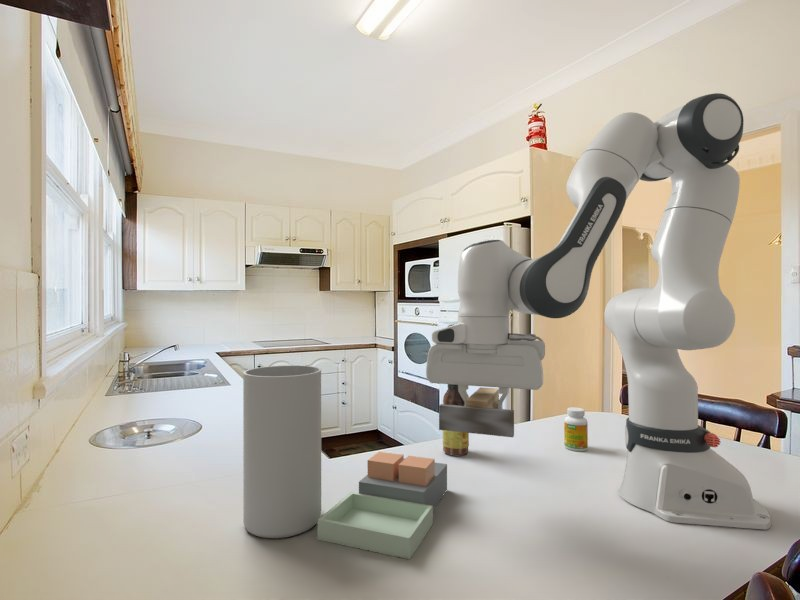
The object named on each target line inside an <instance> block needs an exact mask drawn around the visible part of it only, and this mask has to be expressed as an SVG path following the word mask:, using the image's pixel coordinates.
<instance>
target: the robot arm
mask: <svg viewBox="0 0 800 600" xmlns="http://www.w3.org/2000/svg"><path fill="white" fill-rule="evenodd" d="M743 114H744V113H743V111H742V108H741V107H740V105H739V104H738V103H737V102H736V100H735V99H734V98H732V97H731V96H729V95H727V94H725V93H719V92H718V93H717V92H716V93H709V94H705V95H701V96H697V97H696V98H694V99H691V100H690V101H688V102H686V104H685V105H682V106H680V107H678V108H675V109H673V110H672V111H670V112H669V113H667V114H665V115H663V116H662V117H661V118H660V119H658V120H656V121H655V122H654V121H652V120H651V119H650V118H649V117H648V116H646V115H644V114H641V113H639V112H634V111H633V112H622V113H621V114H618V115H616V116H614V117H613V118H612V119H610V121H608V122H607V123H606V124H605V125H604V126H603V128H602V129H601V130H600V131H598V133H597V134H596V135H595V136H594V138H593V139H592V140H591V141H590V142H589V144H588V145H587V147H586V148H585V149H584V151H583V152H582V154H581V155H580V156H579V158H578V160H577V161H576V163H575V164H574V166H573V168H572V170H571V172H570V174H569V175H568V176H569V177H568V179H567V182H566V183H565V184H566V185H565V190H566V194H567V197H568V200H570V203H571V204H572V205H573V206H574V207H575V208H577V209H576V212H575V214H574V215H573V217H572V219H571V221H570V222H569V224H568V225H567V228H566V229H565V231H564V232H563V234H562V236H561V237H560V240H559V241H558V243H557V244H556V245H555V246H554V248H553V249H551V250H550V251H549V252H547V253H546V254H544V255H542V256H539V257H538V258H532V257H530V256H526V255H523V254H522V253H519V252H518V251H516V250H514V249H513V248H511V247H510V246H508V244H506V243H505V241H503V240H501V239H490V240H484V241H480V242H479V241H478V242H476V243H472V244H470V245H468V246H466V247H465V248H464V249H463V250H462V251H461V253H460V256H459V257H460V258H459V262H458V272H457V275H458V276H457V293H458V298H459V308H458V312H457V323H455V324H449V325H447V326H445V327H442V328H438V329H435V330H434V331H433V332H431V340H432V342H433V343H434V344H432V345H431V346H430V348H429V350H428V353H427V358H426V368H425V369H426V370H425V371H426V373H425V374H426V375H425V376H426V379H427V381H428V382H429V383H430V384H440V385H441V384H443V385H448V384H453V385H458V392H459V393H460V395H461V397H462V399H463V400H464V406H466V400H467V399H468V398H469V397H470V395H469V394H468V390H469V386H472V387H483V388H498V389H499V395H501V396H500V397H499V401H494V402H493V408H494V409H504V408H503V404H504V401H505V400H506V398H507V396H508V394H509V393H510V389H514V390H515V389H516V390H533V391H538V390H540V388H541V387H543V385H544V370H543V369H544V368H543V362H542V361H543V359H544V358H545V355H546V345H545V344H546V343H545V342H544V340H543V339H542V338H541V337H540V336H536V334H535V333H527V334H525V333H524V334H523V333H510V329H509V328H510V318H509V317H510V314H509V313H510V312H511V310H513V311H516V312H518V313H521V314H528V315H536V316H537V315H538V316H541V317H545V318H550V319H563V318H566V317H568V316H570V315H572V314H575V312H576V311H578V310H579V309H580V308H581V306H583V304H584V302H585V301H586V299H587V298H586V297H587V296H588V293H589V289H590V288H589V287H590V283H591V278H592V273H593V269H594V267H595V264H596V263H597V260H598V258H599V256H600V254H601V252H602V250H603V248H604V247H605V245H606V243H607V241H608V239H609V238H610V235H611V234H612V233H613V230H614V228H615V226H616V224H617V222H618V221H619V219H620V217H621V215H622V212H623V210H624V208H625V205H626V202H627V200H628V199H629V196H630V195H631V193H632V191H633V190H634V189H635V187H636V186H637V184H638V183H639V180H641V181H643V182H658V181H663V180H666V179H668V178H670V181H671V191H670V197H669V198H668V201H667V203H666V205H665V209H664V211H663V214H662V217H661V219H660V223H659V225H658V228H657V231H656V234H655V236H654V239H653V242H652V244H651V247H650V248H651V249H650V253H651V254H650V255H651V256H652V258H653V260H654V261H655V263H657V265H658V277H657V282H656V284H655V285H654V286H653V287H640V288H638V287H637V288H631V289H629V290H626V291H623V292H621V293H618V294H616V295H614V296H613V297H611V299H610V300H609V301H608V302H607V303H606V306H605V309H604V314H603V315H604V317H603V318H604V323H605V325H606V327H607V329H608V330H609V332H610V333H611V334H612V335H613V337H614V338H615V340H616V342H617V345H618V348H619V350H620V353H621V357H622V360H623V363H624V369H625V370H626V378H627V389H628V390H627V394H628V397H627V398H628V417H627V418H626V419H625V421H626V422H625V427H624V428H625V429H624V430H625V432H624V433H625V435H624V436H625V437H624V438H625V447H626V449H627V453H626V462H625V468H624V472H623V473H624V474H623V478H622V481H621V485H620V488H619V490H618V492H619V493H618V494H619V495H620V496H621V497H622V499H623V500H625V502H627V503H629V504H631V505H633V506H635V507H637V508H640V509H643V510H644V511H647V512H650V513H652V514H654V515H655V516H657V517H659V518H660V519H663V520H664V521H665V522H670V523H678V524H691V525H701V526H702V525H703V526H716V527H729V528H740V529H743V528H744V529H751V530H752V529H753V530H754V529H755V530H768V529H769V528H771V525H772V519H771V515H770V514H769V511H768V510H767V508H765V506H764V505H762V504H761V503H760V502H759V500H758V501H757V500H756V499H755V498H753V492H752V490H751V487H750V484H749V481H748V480H747V478H746V476H745V475H744V474H743V473H742V472H741V471H740V470H739V469H738V468H736V466H734V465H733V464H731V463H730V462H729V461H728V460H726V459H725V458H724V457H722V456H721V454H719V453H717V452H716V451H715V450H713V449H712V448H718V447H719V446H721V438H719V437H718V436H717V435H716V434H715V433H713V432H711V431H710V430H708V429H706V428H705V427H703V426H701V425H699V391H698V390H699V389H698V388H699V387H698V383H697V381H696V379H695V377H694V376H693V375H692V373H690V371H688V369H687V368H686V367H685V365H684V364H683V361H682V359H681V356H680V353H679V350H681V351H696V350H706V349H713V348H716V347H717V348H718V347H719V346H721V345H722V344H725V342H727V341H728V339H729V338H730V337H731V335H732V334H733V331H734V327H735V326H736V325H735V324H736V313H735V310H734V307H733V305H732V302H731V301H730V300H729V298H728V297H726V295H724V293H723V291H722V289H721V286H720V279H719V270H720V263H721V258H722V255H723V252H724V248H725V245H726V242H727V238H728V235H729V232H730V230H731V226H732V224H733V221H734V218H735V214H736V209H737V205H738V200H739V193H740V184H741V180H740V179H741V178H740V175H739V172H738V171H737V169H735V168H734V167H733V166H732V165H730V164H729V163H731V162H732V161H733V160H734V158H736V156H737V155H738V153H739V151H740V142H741V140H742V137H743V133H744V115H743Z"/></svg>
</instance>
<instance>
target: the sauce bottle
mask: <svg viewBox="0 0 800 600" xmlns="http://www.w3.org/2000/svg"><path fill="white" fill-rule="evenodd" d="M442 404H445V405H457V406H464V400H463V399H462V397H461V395H460V393H459V392H458V385H453V384H447V390H446V392H445V393H444V395H443V400H442ZM469 434H470V433H465V432H455V431H446V430H442V446H443V447H442V451H443V453H444V452H445V453H444V454H446V453H448V454H452V455H451V456H453V455H460V456H464V454H465V455H467V454H468V452H469V445H470V441H469V440H470V437H469V436H470V435H469ZM466 453H467V454H466ZM448 454H447V455H448Z"/></svg>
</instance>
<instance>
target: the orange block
mask: <svg viewBox="0 0 800 600" xmlns="http://www.w3.org/2000/svg"><path fill="white" fill-rule="evenodd" d="M403 460H404V454H397V453H391V452H383V451H378V452H377V453H375V454H374V455H373V456H371V457H370V458H369V459H368V460H367V475H368V477H370V478H377V479H383V480H390V481H394V480H395V479H396V478H397V477H398V476H399V464H400V463H401V462H402V461H403Z"/></svg>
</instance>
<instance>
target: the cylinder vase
mask: <svg viewBox="0 0 800 600" xmlns="http://www.w3.org/2000/svg"><path fill="white" fill-rule="evenodd" d="M242 375H243V381H242V382H243V387H242V389H243V395H242V396H243V397H242V398H243V403H242V404H243V405H242V408H243V409H242V411H243V414H242V415H243V416H242V417H243V418H242V419H243V424H242V425H243V426H242V429H243V433H242V434H243V437H242V438H243V439H242V441H243V446H242V447H243V448H242V449H243V453H242V454H243V456H242V457H243V458H242V459H243V462H242V463H243V466H242V467H243V469H242V471H243V473H242V474H243V485H242V486H243V496H242V497H243V500H242V501H243V508H242V509H243V514H242V515H243V518H242V519H243V525H244V528H245V529H246V531H247V532H248V533H250V534H251V535H253V536H257V537H259V538H263V539H282V538H289V537H294V536H297V535H300V534H302V533H305V532H308V531H309V530H311V529H312V528H313V527H314V526H315V525H316V524H318V519H319V518H320V517H322V368H320V367H317V366H311V365H297V364H296V365H289V364H288V365H272V366H261V367H255V368H250V369H246V370H244V371H243V374H242Z"/></svg>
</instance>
